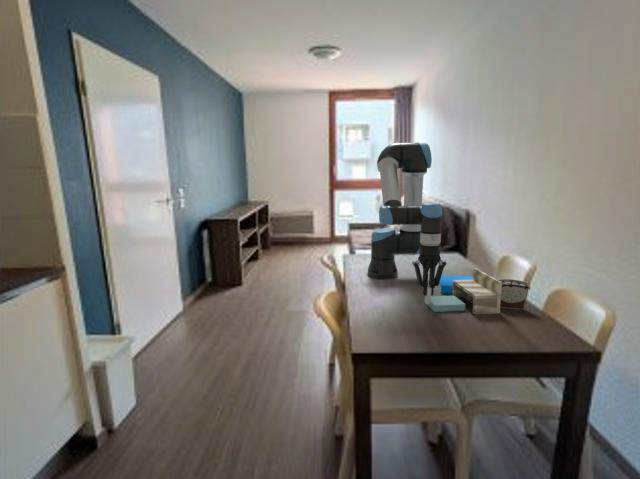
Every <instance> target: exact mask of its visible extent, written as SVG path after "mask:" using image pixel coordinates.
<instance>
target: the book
mask: <svg viewBox="0 0 640 479" xmlns="http://www.w3.org/2000/svg"><path fill="white" fill-rule="evenodd" d="M471 279H473V275H472V276H471V275H470V276H469V275H443V274H442V276H441V279H440V282H439V285H438V286H437V288H438V290H439V293H440V294H443V295H444V294H447V295H448V294H449V295H452V287H453V280H471Z"/></svg>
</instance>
